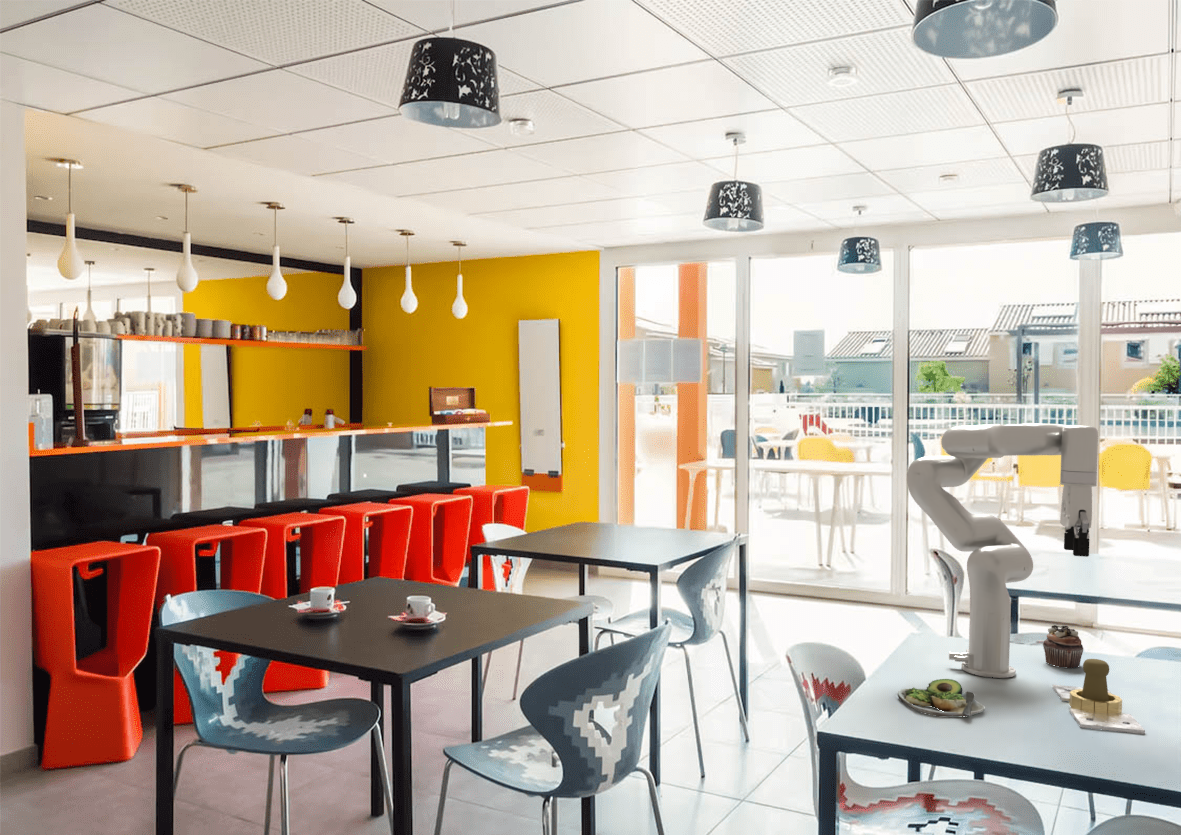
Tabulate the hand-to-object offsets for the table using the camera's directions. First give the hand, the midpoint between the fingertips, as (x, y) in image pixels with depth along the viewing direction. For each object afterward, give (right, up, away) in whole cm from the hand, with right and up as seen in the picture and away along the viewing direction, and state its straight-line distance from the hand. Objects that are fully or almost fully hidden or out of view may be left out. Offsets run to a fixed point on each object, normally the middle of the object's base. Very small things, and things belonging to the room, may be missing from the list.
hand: (1076, 552), depth 224 cm
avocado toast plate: (-34, -33, -8) cm, 48 cm away
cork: (0, -34, -9) cm, 35 cm away
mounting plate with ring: (0, -33, -9) cm, 35 cm away
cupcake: (+11, -33, +29) cm, 46 cm away
